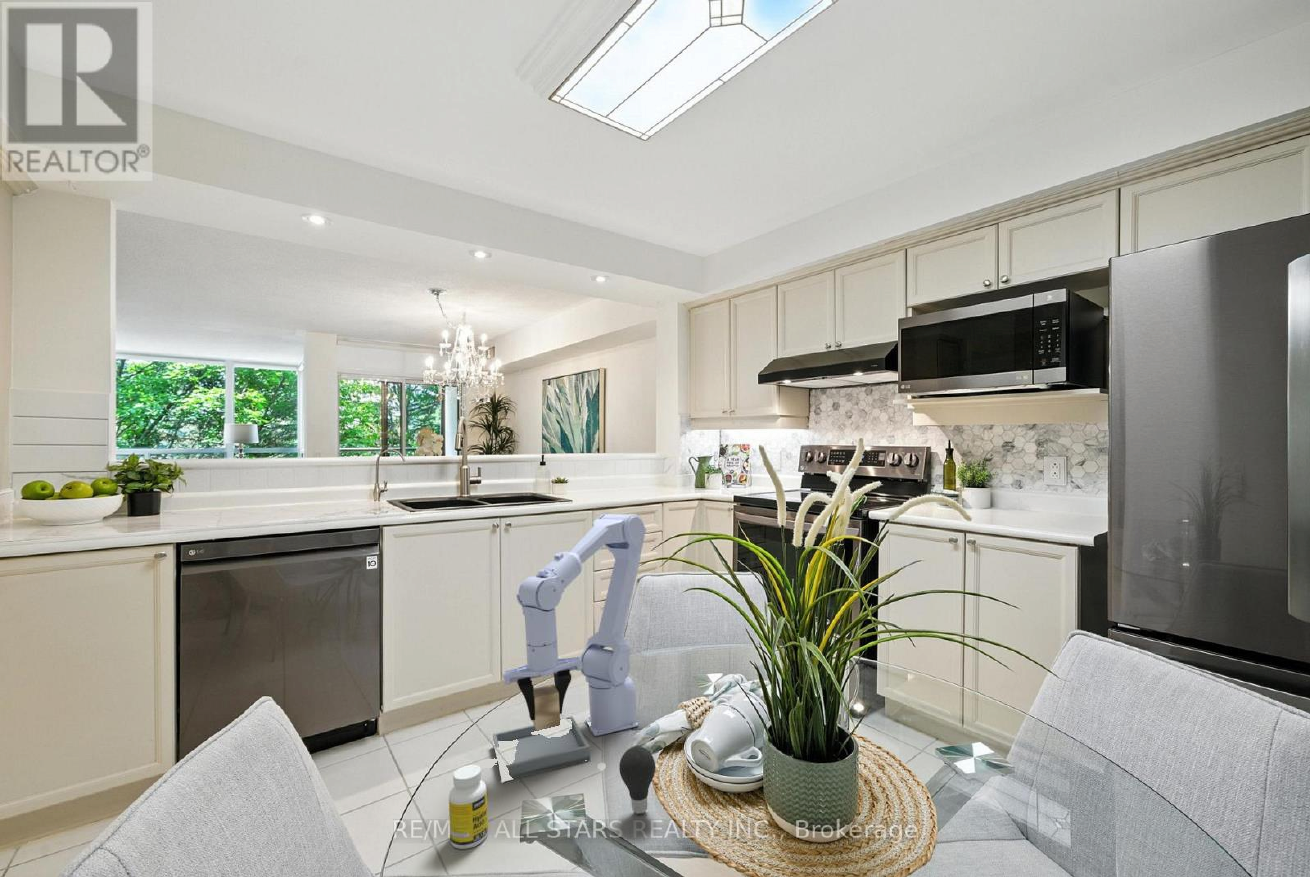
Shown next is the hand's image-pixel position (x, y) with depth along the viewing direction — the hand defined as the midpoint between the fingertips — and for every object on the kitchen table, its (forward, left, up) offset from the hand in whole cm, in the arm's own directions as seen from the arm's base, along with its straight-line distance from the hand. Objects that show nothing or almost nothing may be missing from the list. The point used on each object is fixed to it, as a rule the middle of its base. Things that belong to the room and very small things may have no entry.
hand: (545, 715), depth 107 cm
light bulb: (-10, +23, -9) cm, 26 cm away
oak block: (0, 0, -2) cm, 2 cm away
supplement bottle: (+15, +17, -9) cm, 24 cm away
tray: (+1, -3, -8) cm, 9 cm away
